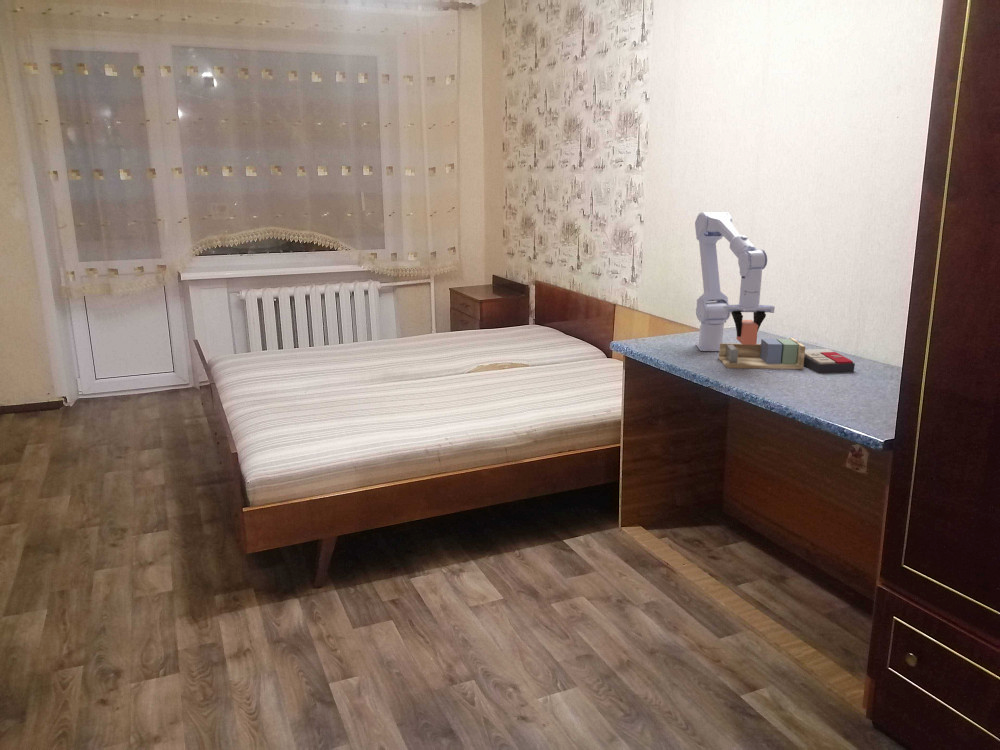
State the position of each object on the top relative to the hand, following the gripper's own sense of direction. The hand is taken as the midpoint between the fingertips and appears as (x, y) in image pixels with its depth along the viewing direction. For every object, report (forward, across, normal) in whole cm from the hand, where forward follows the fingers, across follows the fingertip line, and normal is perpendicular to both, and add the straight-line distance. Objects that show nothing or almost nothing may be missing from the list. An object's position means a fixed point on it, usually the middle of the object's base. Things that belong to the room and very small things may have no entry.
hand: (746, 336), depth 227 cm
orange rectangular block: (+2, 0, 0) cm, 2 cm away
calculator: (+9, +22, -2) cm, 24 cm away
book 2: (+8, +8, 0) cm, 11 cm away
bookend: (+8, -4, 0) cm, 8 cm away
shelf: (+8, +4, 0) cm, 10 cm away
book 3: (+8, +12, 0) cm, 14 cm away
